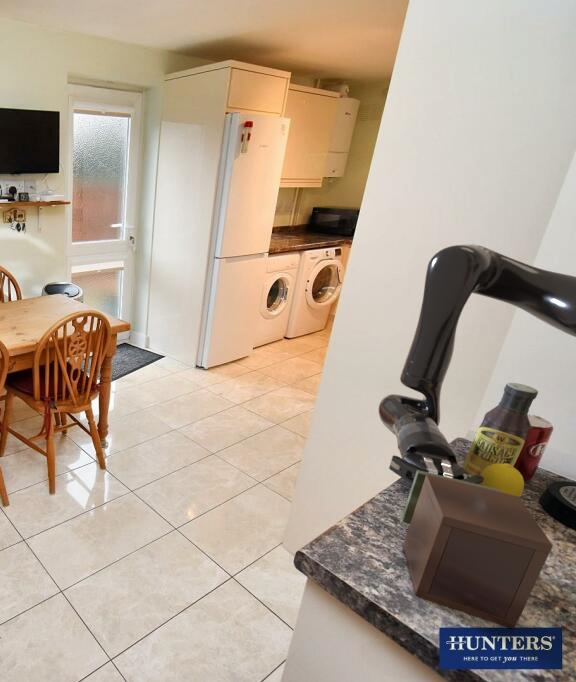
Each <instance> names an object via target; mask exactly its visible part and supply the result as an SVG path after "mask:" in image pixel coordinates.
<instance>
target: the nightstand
mask: <svg viewBox="0 0 576 682" xmlns="http://www.w3.org/2000/svg"><path fill="white" fill-rule="evenodd" d="M553 546H554V545H553V543H552V542H551V540H550V539H549V538H548V536H547V535H546V533H545V532H544V530H543V529H542V527H541V526H540V525H539V523H538V522H537V520H536V519H535V518H534V516H533V515H532V513H531V512H530V510H529V509H528V508H527V506H526V504H525V503H524V502H523V500H522V499H521V496H520V497H519V496H514V495H510V494H506V493H502V492H498V491H494V490H490V489H485V488H481V487H477V486H473V485H469V484H465V483H460V482H456V481H452V480H448V479H444V478H440V477H436V476H431V475H427V474H426V477H425V480H424V483H423V486H422V490H421V493H420V496H419V499H418V502H417V505H416V508H415V511H414V514H413V517H412V520H411V523H410V524H409V526H408V529H407V532H406V535H405V539H404V542H403V545H402V549H403V552H404V557H405V561H406V564H407V568H408V572H409V577H410V580H411V584H412V588H413V592H414V595H415V597H418V598H421V599H423V600H427V601H431V602H433V603H436V604H439V605H442V606H445V607H448V608H451V609H454V610H457V611H460V612H462V613H465V614H468V615H472V616H473V617H477V618H480V619H483V620H485V621H489V622H492V623H495V624H498V625H501V626H503V627H506V628H508V629H509V628H510V629H512V630H514V629H515V628H516V626H517V623H518V622H519V619H520V618H521V616H522V613H523V611H524V609H525V608H526V605H527V603H528V600H529V599H530V596H531V594H532V591H533V589H534V588H535V585H536V583H537V581H538V579H539V577H540V574H541V573H542V570H543V568H544V566H545V563H546V561H547V560H548V557H549V556H550V553H551V551H552V548H553Z"/></svg>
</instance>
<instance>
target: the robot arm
mask: <svg viewBox="0 0 576 682" xmlns="http://www.w3.org/2000/svg"><path fill="white" fill-rule="evenodd" d="M472 294H475V295H479V296H483V297H487V298H490V299H493V300H496V301H500V302H503V303H506V304H509V305H511V306H514V307H516V308H518V309H521V310H522V311H524V312H526V313H528V314H529V315H531V316H533V317H535V318H536V319H537V320H540V321H541V322H543V323H545V324H547V325H549V326H551V327H552V328H554V329H556V330H558V331H559V332H563V333H565V334H567V335H569V336H572V337H574V338H576V276H575V275H571V274H565V273H561V272H557V271H556V272H555V271H551V270H548V269H542V268H539V267H536V266H534V265H530V264H528V263H525V262H522V261H520V260H517V259H514V258H511V257H510V256H507V255H505V254H502V253H500V252H498V251H496V250H492V249H490V248H488V247H485V246H482V245H478V244H471V243H470V244H468V243H467V244H454V245H449V246H447V247H445V248H442V249H440V250H438V252H436V253H435V254H434V255H432V257H431V258H430V260H429V261H428V263H427V267H426V272H425V279H424V286H423V294H422V295H423V296H422V302H421V307H420V312H419V317H418V321H417V325H416V328H415V331H414V334H413V338H412V341H411V344H410V346H409V349H408V353H407V355H406V358H405V361H404V364H403V367H402V370H401V373H400V376H399V382H400V383H401V384H402V385H403V386H404V387H406V388H408V389H410V390H412V391H415V392H417V393H420V394H422V395H423V397H422V399H420V398H416V397H411V396H406V395H402V394H396V393H393V394H388V395H386V396H383V398H382V399H381V400H380V402H379V404H378V410H377V411H378V416H379V420H380V421H381V424H383V426H385V428H386V429H388V431H390V432H391V433H392V434H393V435H394V436H395V437H396V441H397V442H396V443H397V450H398V451H399V454H400V456H401V457H400V456H398V455H391V460H390V464H389V467H388V470H390V471H392V472H393V473H394V474H396V475H397V476H399V477H401V478H402V479H403V480H404V481H406V482H408V483H409V484H410V485H412V484H413V481H414V478H415V477H413V475H414V476H415V475H416V471H417V470H420V471H424V472H428V473H432V474H437V475H441V476H445V477H449V478H453V479H458V480H462V481H466V482H470V483H474V484H478V485H482V483H483V481H484V477H482V476H480V475H473V476H471V475H467V474H465V471H464V469H463V466H462V467H461V466H460V465H459V464H458V459H457V456H456V454H455V452H454V451H453V448H452V447H451V445H450V443H449V441H448V440H447V438H446V437H445V435H444V434H443V433H442V432H441V430H440V428H439V426H440V423H441V395H442V387H443V384H444V380H445V378H446V376H447V373H448V370H449V368H450V366H451V362H452V359H453V354H454V351H455V344H456V343H455V342H456V334H457V328H458V324H459V321H460V317H461V315H462V312H463V310H464V308H465V306H466V304H467V302H468V301H469V299H470V297H471V295H472Z"/></svg>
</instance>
